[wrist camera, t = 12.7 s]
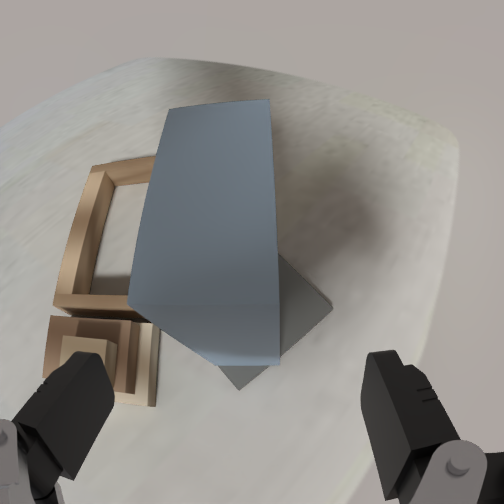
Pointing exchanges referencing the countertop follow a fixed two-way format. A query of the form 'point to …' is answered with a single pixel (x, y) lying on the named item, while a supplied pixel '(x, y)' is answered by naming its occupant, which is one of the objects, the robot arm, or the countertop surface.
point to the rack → (102, 297)
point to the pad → (287, 318)
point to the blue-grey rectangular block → (212, 235)
